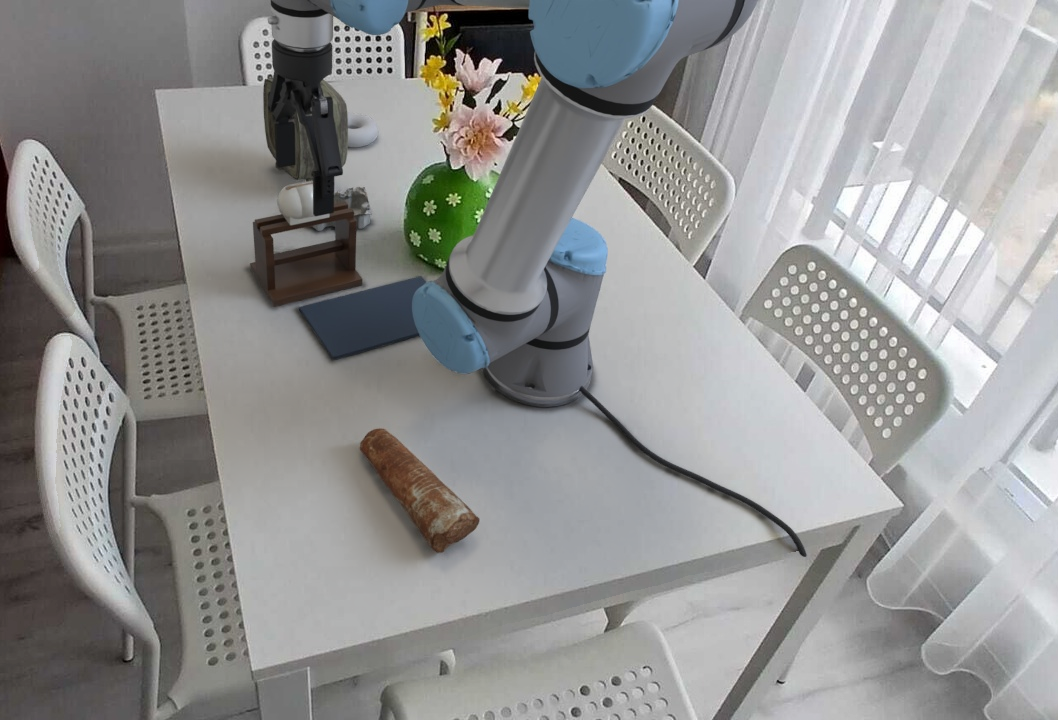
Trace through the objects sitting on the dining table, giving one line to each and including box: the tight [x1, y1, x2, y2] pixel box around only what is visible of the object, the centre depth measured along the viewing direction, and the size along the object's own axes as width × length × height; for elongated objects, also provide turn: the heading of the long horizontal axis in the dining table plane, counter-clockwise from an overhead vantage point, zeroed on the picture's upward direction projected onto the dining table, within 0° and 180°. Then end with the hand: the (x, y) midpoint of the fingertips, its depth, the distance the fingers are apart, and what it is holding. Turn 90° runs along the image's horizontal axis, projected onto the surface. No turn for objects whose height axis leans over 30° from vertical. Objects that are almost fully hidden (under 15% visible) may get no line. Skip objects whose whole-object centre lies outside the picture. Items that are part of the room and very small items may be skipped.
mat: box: [298, 275, 427, 361], centre depth 130 cm, size 12×20×1 cm, turn 121°
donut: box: [347, 111, 379, 148], centre depth 169 cm, size 10×4×10 cm
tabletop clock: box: [262, 77, 349, 182], centre depth 148 cm, size 14×9×25 cm, turn 33°
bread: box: [359, 427, 480, 554], centre depth 104 cm, size 6×19×6 cm, turn 34°
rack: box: [249, 201, 363, 308], centre depth 132 cm, size 10×14×11 cm
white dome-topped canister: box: [276, 180, 329, 225], centre depth 127 cm, size 5×8×5 cm, turn 121°
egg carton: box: [310, 186, 373, 232], centre depth 147 cm, size 11×8×4 cm
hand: (304, 188), depth 126 cm, fingers open, 13 cm apart
